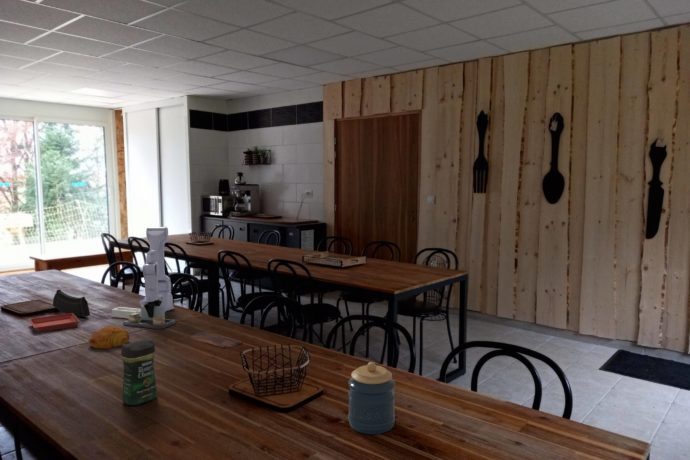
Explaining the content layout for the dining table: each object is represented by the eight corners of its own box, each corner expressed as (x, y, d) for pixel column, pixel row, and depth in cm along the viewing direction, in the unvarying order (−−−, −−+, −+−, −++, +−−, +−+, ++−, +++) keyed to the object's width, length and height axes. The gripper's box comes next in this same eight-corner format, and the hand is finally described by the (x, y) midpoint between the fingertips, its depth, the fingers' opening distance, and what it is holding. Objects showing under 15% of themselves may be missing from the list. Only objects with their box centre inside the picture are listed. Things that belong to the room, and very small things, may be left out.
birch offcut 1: (157, 320, 231) (157, 315, 230) (164, 321, 230) (163, 315, 230) (153, 322, 227) (152, 317, 227) (159, 323, 227) (159, 317, 226)
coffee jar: (132, 409, 147) (129, 348, 145) (118, 401, 152) (115, 343, 150) (161, 397, 154) (159, 340, 152) (148, 391, 159) (145, 335, 157)
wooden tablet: (185, 334, 214) (204, 326, 222) (186, 339, 215) (205, 331, 222) (225, 347, 198) (244, 338, 206) (225, 352, 198) (244, 343, 206)
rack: (138, 319, 241) (138, 316, 241) (175, 323, 234) (175, 320, 234) (123, 324, 232) (123, 321, 232) (161, 329, 225) (161, 325, 225)
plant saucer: (72, 318, 244) (72, 312, 243) (80, 327, 230) (79, 320, 229) (29, 325, 233) (29, 318, 232) (34, 335, 218) (34, 327, 218)
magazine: (92, 300, 242) (61, 276, 257) (85, 302, 239) (54, 277, 255) (88, 331, 247) (58, 306, 262) (82, 333, 244) (52, 307, 259)
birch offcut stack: (133, 322, 236) (133, 312, 235) (140, 323, 234) (140, 313, 234) (128, 324, 232) (127, 314, 232) (135, 325, 231) (134, 315, 230)
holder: (120, 313, 251) (119, 306, 251) (146, 316, 246) (145, 309, 246) (111, 316, 246) (110, 309, 245) (137, 319, 241) (137, 312, 240)
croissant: (116, 341, 216) (114, 322, 216) (136, 342, 207) (134, 323, 207) (82, 349, 204) (80, 330, 204) (102, 351, 195) (100, 331, 195)
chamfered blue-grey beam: (144, 321, 238) (143, 304, 237) (165, 323, 234) (164, 306, 234) (141, 322, 236) (140, 305, 235) (162, 324, 232) (161, 307, 232)
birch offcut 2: (158, 325, 231) (157, 320, 231) (165, 326, 230) (164, 321, 230) (153, 327, 228) (152, 322, 228) (160, 328, 227) (160, 323, 226)
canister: (341, 430, 134) (341, 367, 132) (357, 409, 146) (357, 351, 144) (387, 439, 129) (387, 374, 127) (400, 417, 141) (400, 357, 140)
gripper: (155, 284, 242) (156, 312, 243) (133, 291, 228) (135, 320, 229) (167, 285, 240) (168, 313, 241) (146, 292, 226) (147, 321, 227)
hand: (152, 316), depth 235 cm, fingers closed on chamfered blue-grey beam, 2 cm apart
